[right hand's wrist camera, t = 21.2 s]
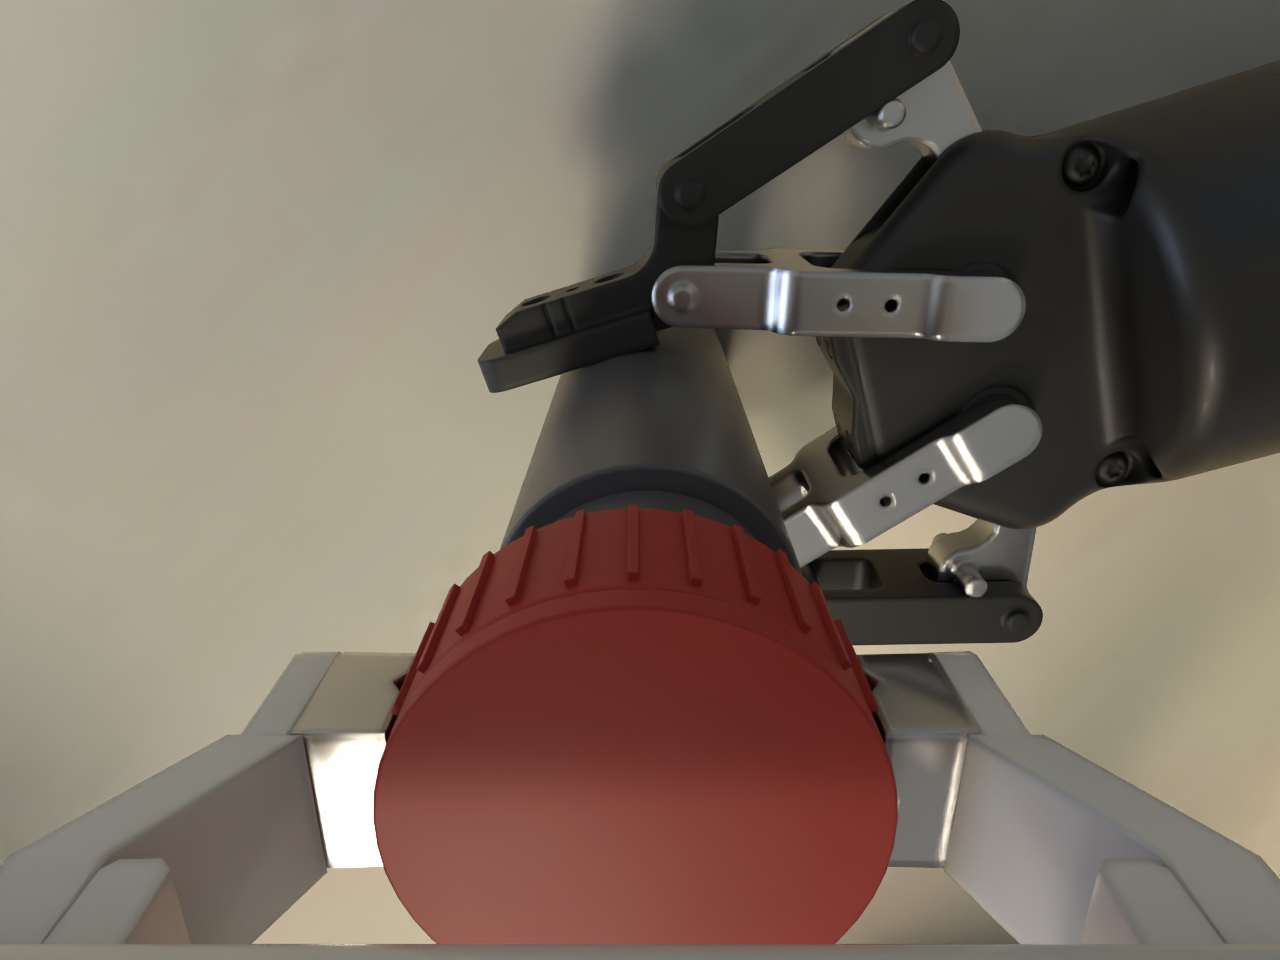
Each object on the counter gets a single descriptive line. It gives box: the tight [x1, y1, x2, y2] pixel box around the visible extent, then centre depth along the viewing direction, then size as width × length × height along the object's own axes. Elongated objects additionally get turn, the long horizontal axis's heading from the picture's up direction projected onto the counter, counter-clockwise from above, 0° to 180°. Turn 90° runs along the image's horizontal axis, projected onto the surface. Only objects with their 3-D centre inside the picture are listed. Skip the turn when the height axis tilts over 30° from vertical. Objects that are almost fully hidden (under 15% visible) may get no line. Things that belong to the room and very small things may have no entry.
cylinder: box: [500, 327, 802, 575], centre depth 17 cm, size 4×4×16 cm
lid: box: [373, 505, 898, 944], centre depth 9 cm, size 5×5×2 cm
